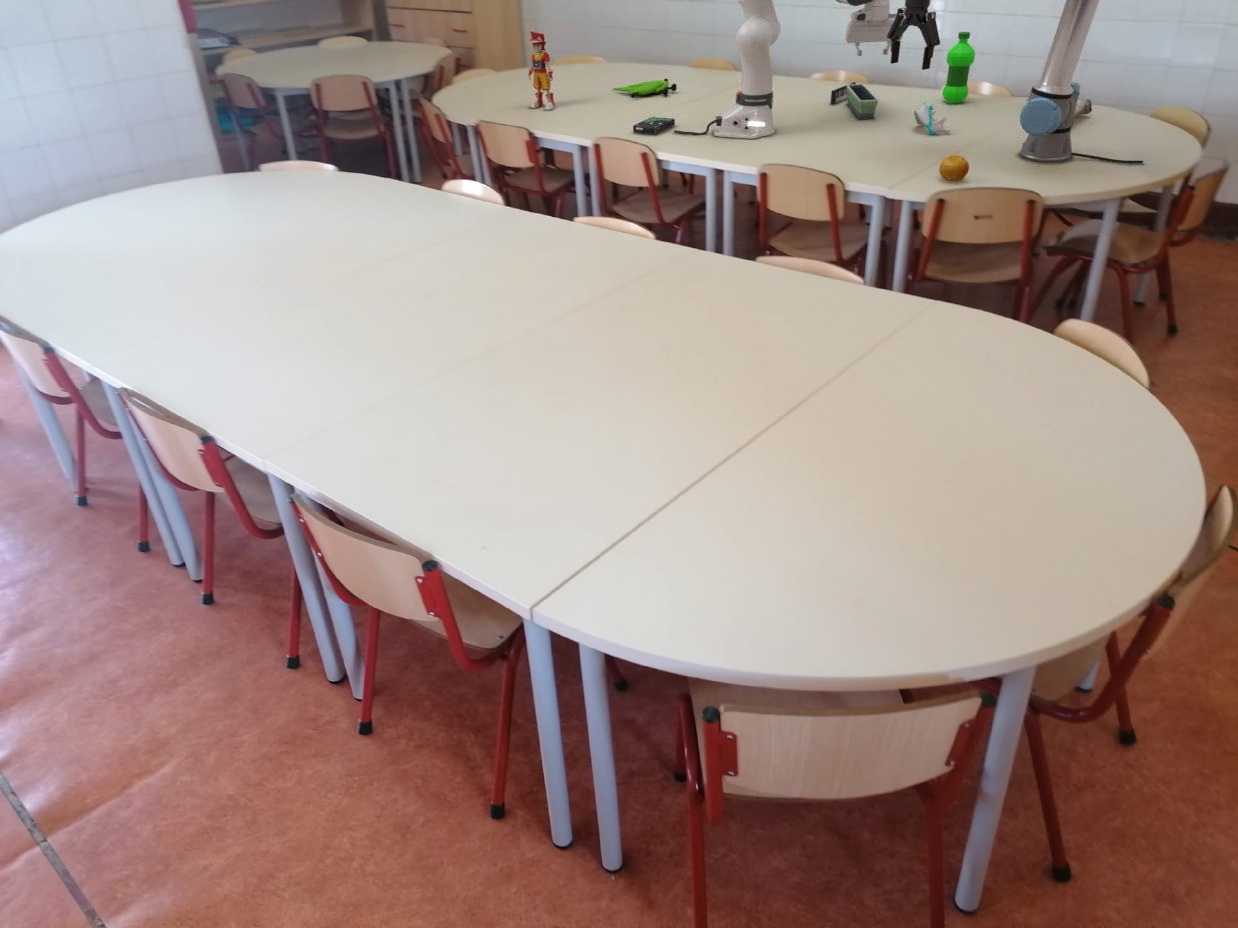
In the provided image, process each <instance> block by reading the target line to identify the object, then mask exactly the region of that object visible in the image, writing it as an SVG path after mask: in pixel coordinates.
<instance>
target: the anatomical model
mask: <svg viewBox="0 0 1238 928" xmlns="http://www.w3.org/2000/svg"><path fill="white" fill-rule="evenodd" d="M935 113H936V110H934V107H933V105H930V103H929V102H926V101H924V102H923V104H922V106H920V107H919V108H916V109H914V111H913V115H914V119H915V121H916V124H917V125H918V126H924V127H925V128H926V130H927V132H928V133H929V134H930V135H937V134H939V133H950V132H951V128H946V127H945V126H944V123H945V122H946V121H947V120H948V118H947V117H942V118H940V119H939V120H938V119H935V118H934V117H933V115H934V114H935Z"/></svg>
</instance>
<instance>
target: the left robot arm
mask: <svg viewBox="0 0 1238 928" xmlns="http://www.w3.org/2000/svg"><path fill="white" fill-rule="evenodd" d="M835 1H836V2H837V3H839V4H845V5H848V6H852V7H859V6H862V5H864V7H863V8H861V9H858V10H855V11H853V12H851V13H850V19H851V20H849V22H848V23H847V27H846V30H845V31H846V32H845V42H846V43H848V44H854V46H855V49H856V56H857V57H862V55H863V54H862V53H863V50H862V49H860V48H859V47H860V43H863V44H864V43H881V42H884V43H885V42H886V44H887V45H886V47H885V48H883V49H882V55H884V56H887V55H888V54H889V50H890V49H891V43H892V41H891V39H888V38H887V35H888V33H889V31H890V29H891V26H892V24H893V22H894V20H895V18H896V16H897V12H890V9H891V7H890V6H891V1H890V0H835ZM738 3H739V4H740V6H741V8H742V11H743V15H744V17H745V22H743V24H742V25H741V26H740V27H739V29H738V31H737V32H736V35H735V44H736V48H737V50H738V52H739V60H740V67H741V90H737V91H736V92H735V103H734V104H733V105H732V106H730V107H729V108H727V110H726V111H724V113H722V114H721V115H716V116H715V119H714V120H712V121H710V122H709V123H708V124H707V125H706V129H705V131H702V132H695V131H684V130H683V131H682V130H676V129H674V130H673V133H674V134H682V135H694V136H702V135H707V133H708V132H709V131H710V127H711V126H712V125H714V124H715V128H714V130H713V135H714V136H715V137H721V138H722V137H723V138H736V139H737V138H738V139H750V140H753V139H754V140H755V139H758V138H761V137H766V136H770V135H773V134H774V133H775V132H776V131H775V127H774V120H773V107H774V91H773V77H774V76H773V75H774V67H773V65H772V63H771V55H770V47H772V45H773V44H775V43H776V42H777V40H778V38H779V37H780V34H781V30H782V27H781V26H782V25H781V22H780V20H779V19H778V16H777V13H776V8H775V5H774V2H773V0H738ZM905 18H906V17H905V16H904V18H903V20H904V19H905ZM902 22H903V21H902ZM901 24H902V23H901ZM900 26H901V25H900ZM903 37H904V34H903V35H902V36H901V37H900V38H899V39H900V40H898V41H902V39H903Z"/></svg>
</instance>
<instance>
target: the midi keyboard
mask: <svg viewBox="0 0 1238 928" xmlns="http://www.w3.org/2000/svg"><path fill="white" fill-rule="evenodd" d="M851 84H857V82H856V81H854V82H850V83H848V84H846V85H842V86H841V87H838V88H835V89H833V90H831V94H830V105H835V104H837V103H839V102H841V101H843V100H846V99H847V85H851Z"/></svg>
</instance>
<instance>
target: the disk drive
mask: <svg viewBox="0 0 1238 928" xmlns="http://www.w3.org/2000/svg"><path fill="white" fill-rule="evenodd" d="M675 125H676V120H675V118H671V117H659V116H650V117H648V118H646V119H644V120H642V121H640V122H638V123H635V124H634V125H632V132H633V133H637V134H643V135H644V134H645V135H654V136H655V135H659V134H660V133H663V132H665V131H666V130H668V129H670V128H672V127H674V126H675Z"/></svg>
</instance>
